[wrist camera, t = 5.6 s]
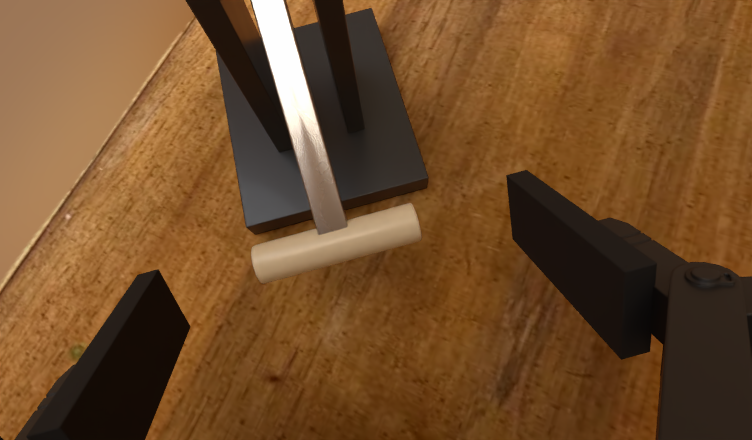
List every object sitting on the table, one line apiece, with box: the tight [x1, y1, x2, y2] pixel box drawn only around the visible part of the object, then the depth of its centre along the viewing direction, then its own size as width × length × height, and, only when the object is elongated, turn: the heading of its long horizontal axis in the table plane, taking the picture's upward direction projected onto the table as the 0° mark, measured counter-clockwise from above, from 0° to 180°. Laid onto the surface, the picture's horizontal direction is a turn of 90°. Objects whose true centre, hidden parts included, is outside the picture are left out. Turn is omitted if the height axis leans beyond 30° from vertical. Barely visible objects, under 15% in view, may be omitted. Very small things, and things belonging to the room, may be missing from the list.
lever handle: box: [250, 0, 422, 284], centre depth 15 cm, size 13×6×2 cm, turn 15°
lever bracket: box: [186, 0, 428, 234], centre depth 19 cm, size 12×10×14 cm
